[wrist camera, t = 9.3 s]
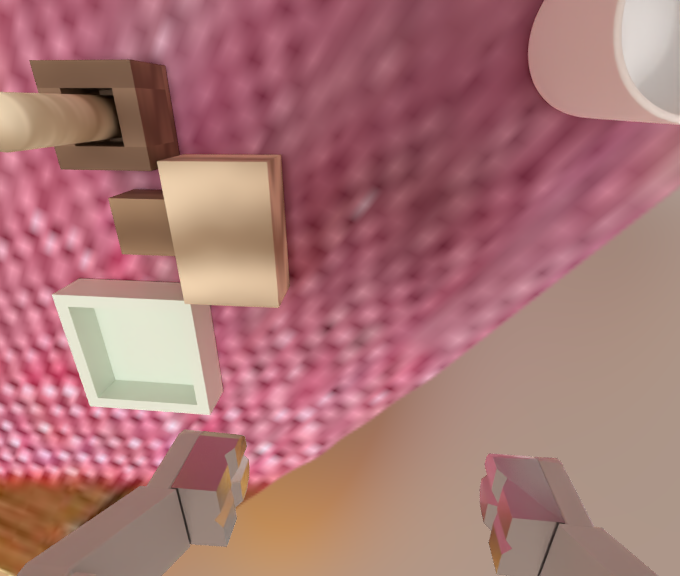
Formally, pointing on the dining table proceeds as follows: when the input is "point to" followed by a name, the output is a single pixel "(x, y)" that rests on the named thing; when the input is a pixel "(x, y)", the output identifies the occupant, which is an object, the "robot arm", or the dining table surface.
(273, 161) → the board
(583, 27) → the cup
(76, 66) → the socket block
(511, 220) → the dining table surface
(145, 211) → the small brown block
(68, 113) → the dowel
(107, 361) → the tray
